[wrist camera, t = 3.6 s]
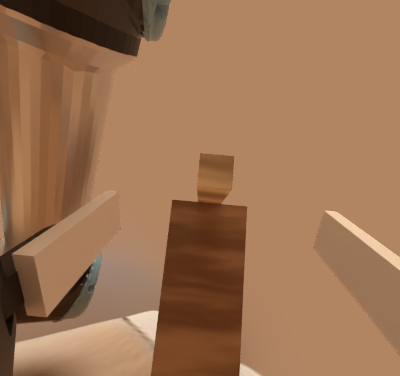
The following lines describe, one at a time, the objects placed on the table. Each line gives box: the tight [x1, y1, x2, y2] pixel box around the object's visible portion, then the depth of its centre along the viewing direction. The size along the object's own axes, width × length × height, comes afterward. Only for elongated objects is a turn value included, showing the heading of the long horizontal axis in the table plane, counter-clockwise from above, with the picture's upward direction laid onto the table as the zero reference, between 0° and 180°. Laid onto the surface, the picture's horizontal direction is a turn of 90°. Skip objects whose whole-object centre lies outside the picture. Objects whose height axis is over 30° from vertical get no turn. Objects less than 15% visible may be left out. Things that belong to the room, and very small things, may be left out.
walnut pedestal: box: [151, 200, 247, 376], centre depth 30 cm, size 14×12×30 cm
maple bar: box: [197, 154, 234, 204], centre depth 31 cm, size 26×3×3 cm, turn 0°
